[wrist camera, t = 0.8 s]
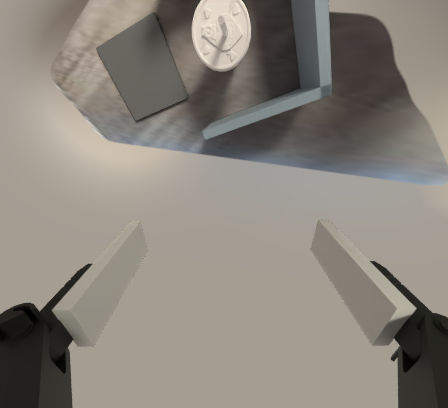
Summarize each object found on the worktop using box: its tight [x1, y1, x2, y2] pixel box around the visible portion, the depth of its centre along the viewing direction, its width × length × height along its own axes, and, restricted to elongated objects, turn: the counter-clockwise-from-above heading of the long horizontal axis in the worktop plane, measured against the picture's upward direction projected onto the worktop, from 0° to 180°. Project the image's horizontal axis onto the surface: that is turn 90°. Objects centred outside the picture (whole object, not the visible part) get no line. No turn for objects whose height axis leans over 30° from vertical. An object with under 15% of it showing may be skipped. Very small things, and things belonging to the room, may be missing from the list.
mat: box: [96, 12, 188, 121], centre depth 29 cm, size 11×11×1 cm
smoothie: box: [192, 0, 251, 72], centre depth 21 cm, size 6×6×14 cm
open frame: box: [202, 0, 332, 140], centre depth 22 cm, size 17×19×9 cm
